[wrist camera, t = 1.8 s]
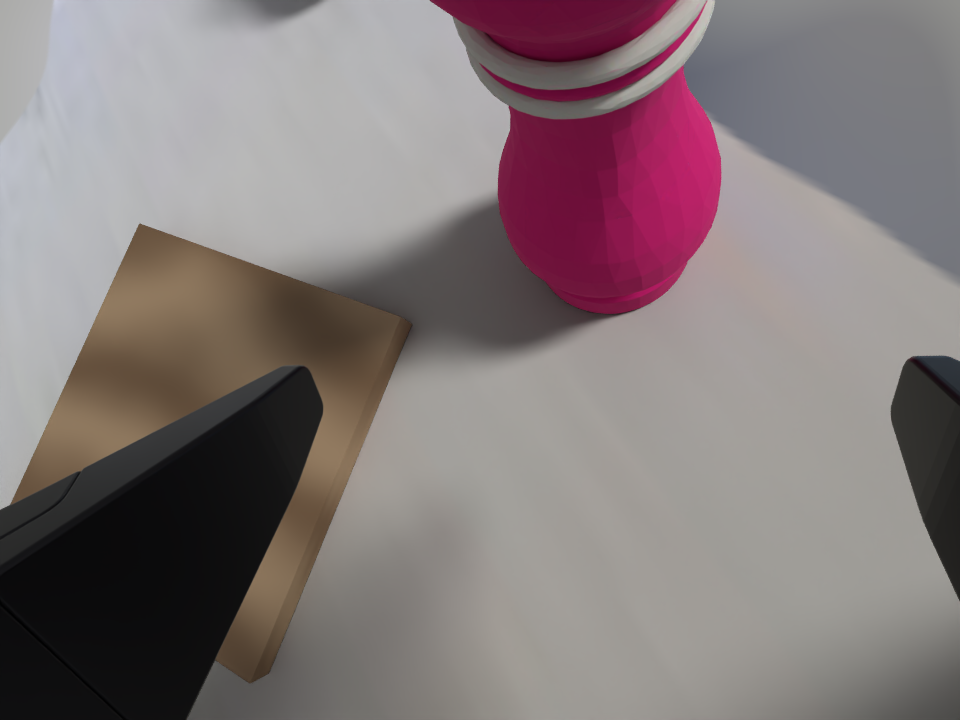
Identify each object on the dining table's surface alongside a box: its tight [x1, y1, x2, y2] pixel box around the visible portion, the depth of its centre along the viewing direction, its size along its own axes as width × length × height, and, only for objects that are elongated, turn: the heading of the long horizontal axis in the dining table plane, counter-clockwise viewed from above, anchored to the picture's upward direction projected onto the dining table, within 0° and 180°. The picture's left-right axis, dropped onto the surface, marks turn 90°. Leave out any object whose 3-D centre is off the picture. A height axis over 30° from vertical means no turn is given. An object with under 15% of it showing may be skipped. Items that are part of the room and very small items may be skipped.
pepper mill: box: [430, 0, 721, 314], centre depth 13 cm, size 7×7×20 cm
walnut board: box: [10, 224, 412, 683], centre depth 26 cm, size 16×16×1 cm
